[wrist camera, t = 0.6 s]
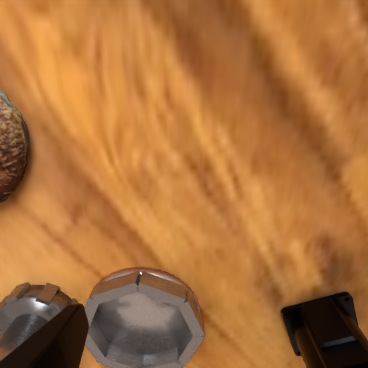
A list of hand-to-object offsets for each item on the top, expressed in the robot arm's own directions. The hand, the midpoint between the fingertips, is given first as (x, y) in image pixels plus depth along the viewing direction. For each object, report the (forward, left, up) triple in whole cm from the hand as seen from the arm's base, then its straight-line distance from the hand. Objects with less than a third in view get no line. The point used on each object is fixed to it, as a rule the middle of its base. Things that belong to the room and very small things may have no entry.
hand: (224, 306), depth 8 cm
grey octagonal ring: (-12, +11, -13) cm, 21 cm away
